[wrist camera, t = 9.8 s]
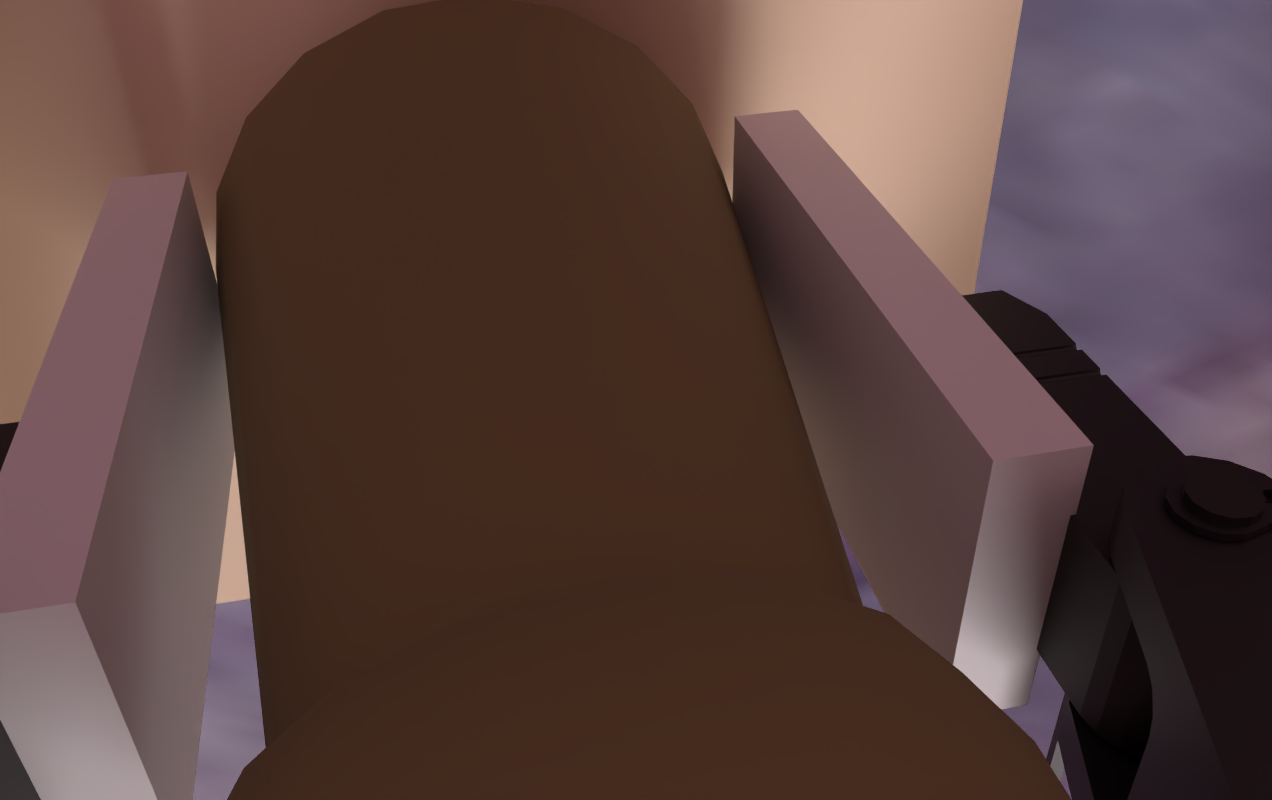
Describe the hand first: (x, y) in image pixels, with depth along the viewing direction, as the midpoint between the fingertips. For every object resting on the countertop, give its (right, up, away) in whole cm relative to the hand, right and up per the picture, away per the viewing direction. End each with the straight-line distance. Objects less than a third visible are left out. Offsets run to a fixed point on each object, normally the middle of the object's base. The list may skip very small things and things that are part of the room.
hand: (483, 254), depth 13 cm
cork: (0, 0, 0) cm, 1 cm away
